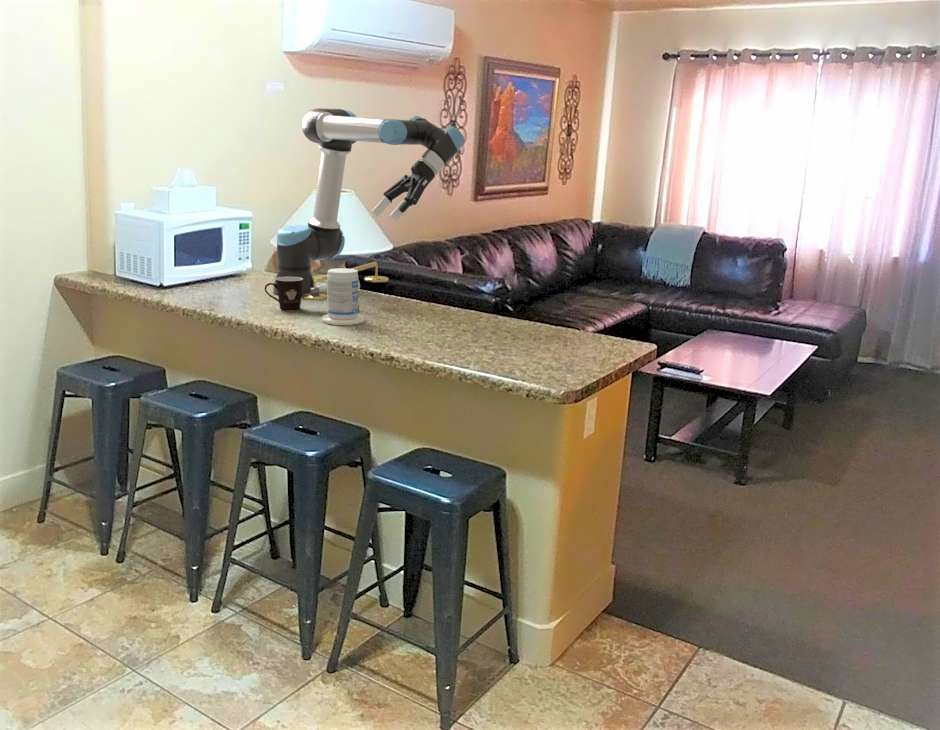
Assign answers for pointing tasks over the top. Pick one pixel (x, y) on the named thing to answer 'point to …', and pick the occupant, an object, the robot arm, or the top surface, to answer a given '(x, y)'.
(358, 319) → the plate
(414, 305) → the top surface
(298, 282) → the coffee mug
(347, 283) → the supplement tub
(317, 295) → the balance
